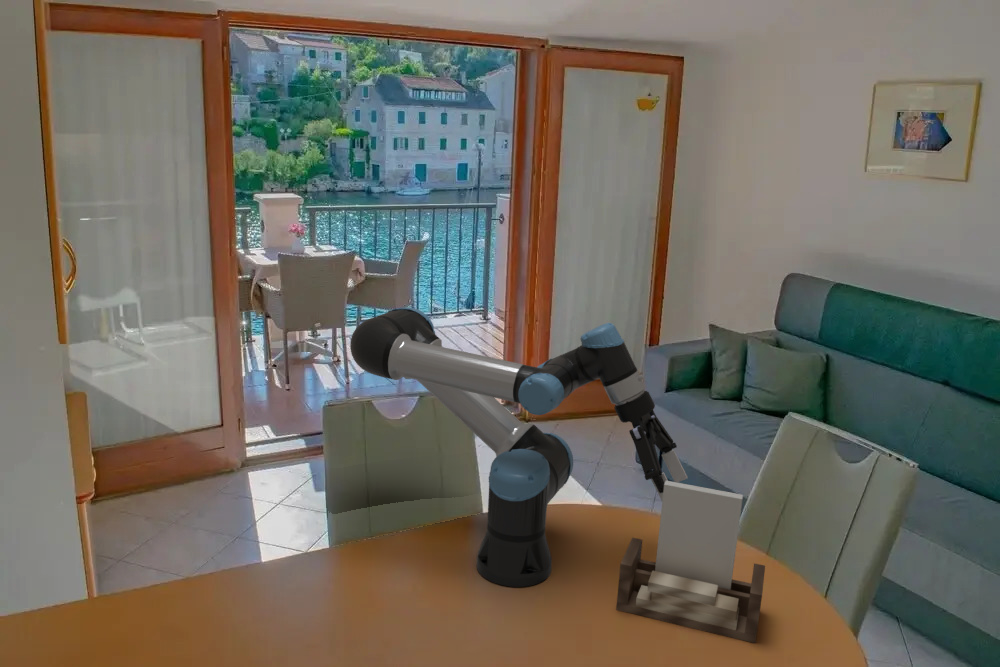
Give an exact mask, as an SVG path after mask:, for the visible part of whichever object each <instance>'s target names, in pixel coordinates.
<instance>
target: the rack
mask: <svg viewBox="0 0 1000 667" xmlns="http://www.w3.org/2000/svg"><path fill="white" fill-rule="evenodd" d="M642 548H643V539H642V538H635V537H631V540H630V541H629V544H628V546H627V548H626V549H625V550H626V551H625V553H624V555H623V557H622V559H621V562H620V566H619V576H618V577H619V578H618V585H617V596H616V609H615V610H616V611H621V612H624V613H628V614H633V615H637V616H641V617H644V618H649V619H653V620H656V621H657V620H658V621H660V622H661V621H662V622H666V623H669V624H674V625H678V626H682V627H686V628H690V629H695V630H699V631H703V632H707V633H710V634H715V635H719V636H723V637H727V638H730V639H731V638H732V639H736V640H740V641H743V642H748V643H752V644H756V642H757V641H756V640H757V633H758V628H759V627H758V626H759V619H760V612H761V607H762V606H761V605H762V601H763V600H762V598H763V593H764V592H763V590H764V580H765V572H766V565H763V564H759V563H753V568H752V576H751V582H745V581H741V580H737V579H733V578H732V583H731V590H729V589H724V588H720V587H718V588H717V594H721V595H725V596H730V597H734V598H738V599H739V601H738V607H739V614H738V620H737V627H736V630H732V629H728V628H724V627H720V626H715V625H711V624H707V623H703V622H699V621H695V620H690V619H686V618H682V617H678V616H674V615H669V614H665V613H661V612H657V611H653V610H649V609H644V608H640V607H636V598H637V595H638V593H639V590H640V587H641V585H644V586H648V581H649V579H650V576H651V573H652V571H655V566H656V561H650V560H646V559H643V558H641V556H642Z"/></svg>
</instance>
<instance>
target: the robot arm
mask: <svg viewBox="0 0 1000 667" xmlns="http://www.w3.org/2000/svg"><path fill="white" fill-rule="evenodd" d="M434 328H435V326H434V323H433V321H432V320H431V319H430V317H429V316H428V315H427V314H426V313H425V312H423V311H421V310H419V309H417V308H414V307H411V306H409V307H408V306H407V307H397V308H393V309H391V310H388V311H387V312H386V313H383V314H380V315H377V316H374V317H371V318H368V319H366V320H364V321H362V322H361V323H359V325H357V327H356V328H355V330H353V332H352V336H351V338H350V343H349V344H350V345H349V346H350V352H351V353H350V354H351V356H352V359H353V360H354V362H355V363H356V365H357V366H358V367H359V368H360V369H362V370H364V372H365V373H366V372H367V373H368V374H371V375H373V376H378V377H381V378H385V379H390V380H394V381H400V380H401V379H402V378H404V379H405V380H411V379H412V380H416V381H417V382H418V383H419V384H421V386H423V387H424V388H425V389H426V390H427V392H429V393H430V394H431V395H432V396H433V397H435V399H437V400H438V401H439V402H440V403H441V404H443V406H445V407H446V409H447V410H449V411H450V412H451V413H452V414H453V415H454V416H455V417H456V418H457V419H458V420H459V421H461V422H462V423H463V424H464V425H465V426H466V427H467V428H468V429H469V430H470V431H471V432H473V433H474V435H476V437H478V438H479V439H480V440H481V441H482V442H483V443H484V444H485V445H487V447H488V448H490V449H491V450H492V451H493V452H494V453H495V458H494V459H493V460H492V463H491V465H490V469H489V470H490V471H489V475H488V501H487V505H488V506H487V525H486V526H487V527H486V531H485V532H486V533H485V535H484V536H483V540H482V542H481V544H480V547H479V549H478V551H477V555H476V569H477V571H478V573H479V574H480V575H481V576H482V578H484V579H486V580H488V581H490V582H492V583H494V584H496V585H497V584H498V585H499V586H504V587H505V586H506V587H514V588H523V587H531V586H534V585H537V584H540V583H543V582H544V581H546V580H547V579H548V578H549V577H550V575H551V573H552V564H553V563H552V562H553V561H552V556H551V554H552V553H551V551H550V548H549V544H548V540H547V537H546V521H547V512H548V511H547V509H548V504H549V503H550V502H551V501H552V499H554V497H555V496H556V494H558V492H559V491H560V490H561V489H562V488H563V487H564V486H565V485H566V484H567V482H568V481H569V478H570V476H571V474H572V473H573V469H574V457H573V452H572V450H571V447H570V446H569V445H568V443H567V442H566V441H565V439H564V438H562V437H561V436H559V435H558V434H555V433H552V432H549V433H548V432H543V431H542V430H541V429H540V428H538V426H536V425H535V424H534V423H523V422H522V421H520V420H519V419H518V417H516V416H515V415H514V414H513V413H512V412H511V411H510V410H509V409H507V408H506V407H505V406H504V405H503V404H502V403H500V401H499V400H503V401H508V402H512V403H517V404H520V405H521V407H522V408H523V409H524V410H525V411H527V412H528V413H529V414H531V415H534V416H535V415H536V416H541V415H542V416H543V415H546V414H547V413H550V412H553V410H555V409H557V408H558V407H559V406H560V404H562V402H563V401H565V399H566V398H568V397H569V396H570V395H571V394H572V393H573V392H575V390H577V389H579V388H580V387H584V386H585V385H587V384H590V383H592V382H594V381H597V380H598V379H599V381H600V382H601V384H602V386H603V388H604V391H605V393H606V395H607V397H608V399H609V401H610V403H611V404H613V405H614V411H615V413H616V414H617V417H618V418H619V421H620V422H622V423H624V424H625V423H628V422H629V423H631V424H632V429H629V431H628V432H629V435H630V437H631V439H632V442H633V443H634V447H635V449H636V452H637V456H638V459H639V461H640V462H639V463H640V464H641V468H642V470H643V474H644V479H645V480H646V481H648V480H651V483H652V484H653V486H654V488H655V491H656V492H657V495H658V496H659V498H660V500H661V501H662V500H663V490H664V484H665V481H669V480H668V478H667V476H666V473H665V472H664V471H662V469H661V464H660V461H659V457H658V452H657V449H659V451H660V452H661V453H662V454H661V457H662V459H663V461H664V463H665V465H666V467H667V469H668V471H669V473H670V475H671V477H672V479H673V482H677V483H681V482H682V481H685V480H687V479H688V478H689V477H688V474H686V471H685V469H684V467H683V465H682V463H681V461H680V459H679V456H678V455H677V453H676V451H675V449H676V448H677V443H676V442H674V440H673V439H672V437H671V435H670V433H669V432H668V431H667V430H666V428H665V427H664V425H663V424H662V422H661V421H660V419H659V418H658V416H657V415H656V413H655V411H654V409H655V407H656V405H655V402H654V401H653V399H652V397H651V396H652V395H651V394H650V392H649V391H647V390H645V389H646V385H645V383H644V378H645V376H644V375H643V374H640V373H639V371H638V368H637V367H636V364H635V362H634V360H633V358H632V356H631V354H630V352H629V350H628V347H627V346H626V344H625V340H624V339H623V337H622V336H621V334H620V333H619V331H618V329H617V328H616V325H615V324H613V323H612V322H606V323H603V324H601V325H598V326H596V327H594V328H593V329H590V330H588V331H586V332H585V333H583V334H582V335H580V338H579V339H580V342H581V345H580V346H577V347H576V348H575V349H571V350H569V351H567V352H565V353H562V354H560V355H558V356H555V357H552V358H549V359H548V360H546V361H544V362H543V363H541V364H539V365H537V366H532V365H527V364H525V363H524V364H523V363H519V362H515V361H508V360H506V359H505V360H504V359H500V358H494V357H491V356H486V355H481V354H477V353H471V352H467V351H463V350H457V349H452V348H450V347H443V342H442V341H443V340H442V339H441V338H440V337H439V336H438V335H437V334H436V331H435V329H434ZM497 399H499V400H497ZM656 447H657V449H656Z"/></svg>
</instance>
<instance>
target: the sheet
mask: <svg viewBox="0 0 1000 667" xmlns="http://www.w3.org/2000/svg"><path fill="white" fill-rule="evenodd" d="M743 497H744V494H740V493H734V492H730V491H729V492H728V491H725V490H718V489H714V488H709V487H708V488H707V487H702V486H698V485H692V484H688V483H687V484H686V483H681V482H675V481H671V480H668V481H665V484H664V490H663V500H661V511H660V520H659V528H658V537H657V538H658V539H657V548H656V558H655V562H656V566H655V571H657V572H661V573H666V574H670V575H675V576H679V577H684V578H688V579H693V580H697V581H702V582H706V583H711V584H715V585H718V587H720V588H724V589H729V590H731V583H732V579H733V573H734V568H735V567H734V566H735V560H736V559H735V558H736V552H737V543H738V536H739V535H738V534H739V529H740V521H741V515H742V514H741V512H742V506H743V499H744V498H743Z"/></svg>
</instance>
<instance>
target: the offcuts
mask: <svg viewBox="0 0 1000 667" xmlns="http://www.w3.org/2000/svg"><path fill="white" fill-rule="evenodd" d="M717 588H718V585H715V584H711V583H706V582H702V581H697V580H693V579H688V578H684V577H679V576H675V575H670V574H666V573H661V572H657V571H652V573H651V576H650V579H649V581H648V586H644V585H641V587H640V590H639V593H638V595H637V598H636V607H640V608H644V609H649V610H653V611H657V612H661V613H665V614H669V615H674V616H678V617H682V618H686V619H690V620H695V621H699V622H703V623H707V624H711V625H715V626H720V627H724V628H728V629H732V630H736V627H737V620H738V614H739V607H738V601H739V599H738V598H734V597H730V596H725V595H721V594H717Z"/></svg>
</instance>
